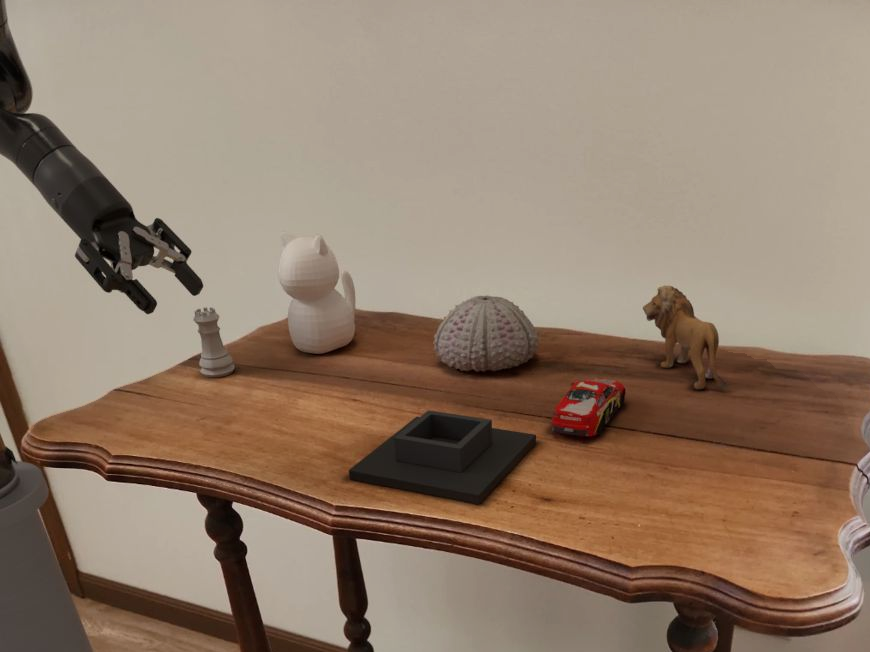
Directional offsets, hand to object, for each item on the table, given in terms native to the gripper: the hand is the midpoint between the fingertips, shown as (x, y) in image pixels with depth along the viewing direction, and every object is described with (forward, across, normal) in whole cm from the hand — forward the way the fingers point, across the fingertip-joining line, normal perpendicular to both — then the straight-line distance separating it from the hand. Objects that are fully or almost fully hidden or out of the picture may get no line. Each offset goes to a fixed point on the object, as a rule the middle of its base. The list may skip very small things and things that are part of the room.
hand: (177, 300), depth 103 cm
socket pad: (+38, -13, -25) cm, 47 cm away
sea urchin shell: (+32, +15, -19) cm, 40 cm away
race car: (+45, +2, -32) cm, 55 cm away
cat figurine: (+15, +14, -2) cm, 21 cm away
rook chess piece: (+10, 0, +4) cm, 10 cm away
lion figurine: (+49, +19, -36) cm, 64 cm away
